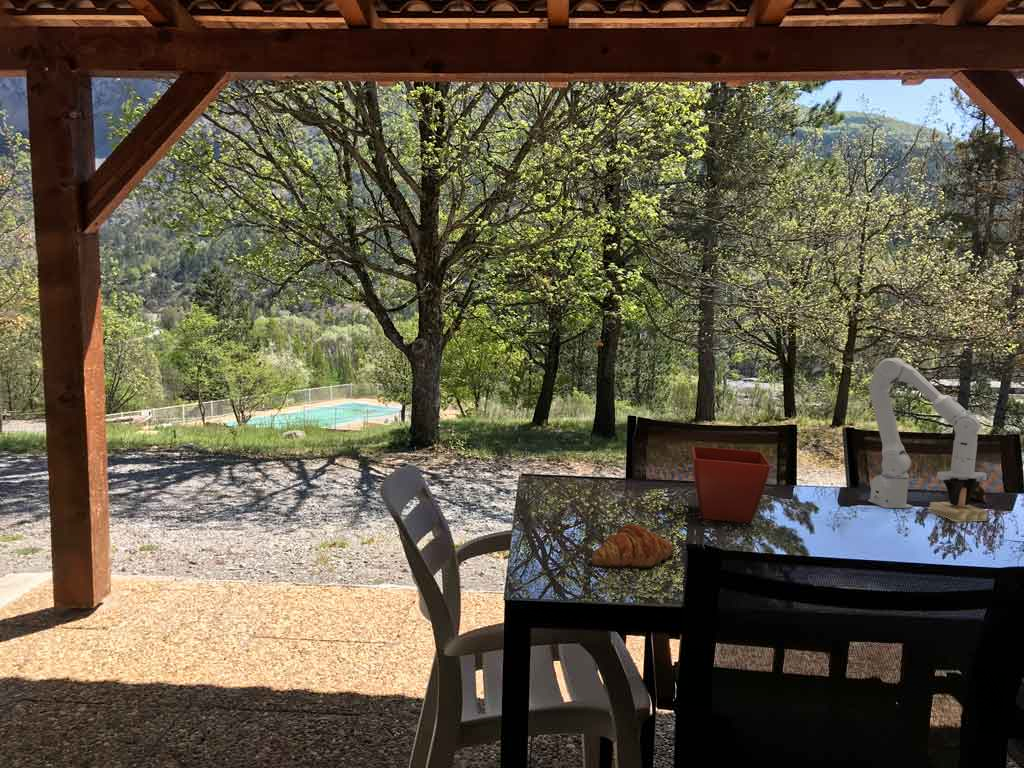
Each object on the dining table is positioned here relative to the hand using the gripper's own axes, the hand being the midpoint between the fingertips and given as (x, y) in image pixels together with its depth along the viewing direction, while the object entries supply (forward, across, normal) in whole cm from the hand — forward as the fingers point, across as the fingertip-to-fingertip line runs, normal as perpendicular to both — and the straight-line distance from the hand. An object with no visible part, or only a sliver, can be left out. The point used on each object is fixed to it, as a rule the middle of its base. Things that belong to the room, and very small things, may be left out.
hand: (958, 504), depth 214 cm
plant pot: (+4, -70, +3) cm, 70 cm away
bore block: (+4, 0, 0) cm, 4 cm away
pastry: (+4, -108, -31) cm, 113 cm away
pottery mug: (+4, +20, +19) cm, 28 cm away
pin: (+2, 0, 0) cm, 2 cm away
